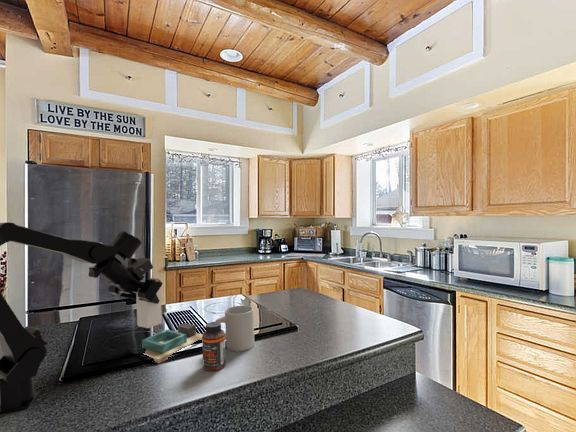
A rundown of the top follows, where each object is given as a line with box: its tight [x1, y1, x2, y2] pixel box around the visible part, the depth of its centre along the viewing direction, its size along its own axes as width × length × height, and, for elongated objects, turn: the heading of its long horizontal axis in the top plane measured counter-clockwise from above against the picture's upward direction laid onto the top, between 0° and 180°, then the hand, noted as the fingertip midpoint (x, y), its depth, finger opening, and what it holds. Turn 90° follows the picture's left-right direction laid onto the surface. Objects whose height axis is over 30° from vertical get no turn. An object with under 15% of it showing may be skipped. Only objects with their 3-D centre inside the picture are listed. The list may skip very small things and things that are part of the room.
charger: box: [135, 288, 163, 329], centre depth 99 cm, size 5×5×12 cm
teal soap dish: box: [141, 322, 203, 364], centre depth 98 cm, size 18×13×4 cm
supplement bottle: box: [201, 321, 227, 372], centre depth 85 cm, size 6×6×11 cm
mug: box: [214, 305, 256, 352], centre depth 96 cm, size 12×8×11 cm
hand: (152, 301), depth 100 cm, fingers closed on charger, 5 cm apart
